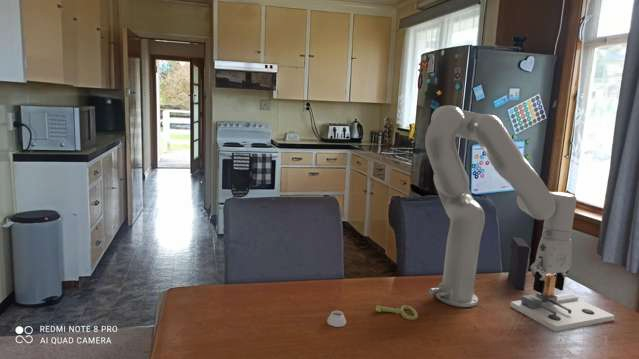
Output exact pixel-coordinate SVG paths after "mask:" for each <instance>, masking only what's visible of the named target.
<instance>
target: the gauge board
mask: <svg viewBox="0 0 639 359" xmlns="http://www.w3.org/2000/svg"><path fill="white" fill-rule="evenodd" d="M554 296H557V302H556V303H558V304H560V305H563V306H565V307H567V308H569V309H571V314H569V313H568V311H567V310H565V309H563V308H561V307H559V306H557V305H555V304H553V303H546V302H544V301H543V300H542V299H540V298H538V297H536V295H535V294H526V295H521V300H514V301H510V305H509V306H510V307H511V308H512V309H514V310H515V311H517V312H520V313H522V314H523V315H525V316H527V317H529V318H531V319H532V320H534V321H536V322H537V323H538V324H541V325H543V326H545V327H547V328H548V329H550V330H552V331H554V332H560V331H565V330H571V329H576V328H580V327H585V326H586V327H587V326H592V325H596V324H602V323H606V322H607V323H608V322H611V321H615V315H614V314H612V313H610V312H609V311H606V310H603V309H602V308H599V307H597V306H594V305H593V304H590V303H588V302H586V301H584V300H582V299H579V296H577V295H574V294H569V293H561V294H555V295H554Z"/></svg>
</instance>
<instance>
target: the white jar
mask: <svg viewBox="0 0 639 359" xmlns="http://www.w3.org/2000/svg"><path fill="white" fill-rule="evenodd" d="M326 323H327V324H328V325H329V326H332V327H334V328H340V327H344V326H346V324H347V319H346V317H345V315H344V312H343V311H341V310H333V311H331V313H330V314H329V316H328V318H327V320H326Z"/></svg>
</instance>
